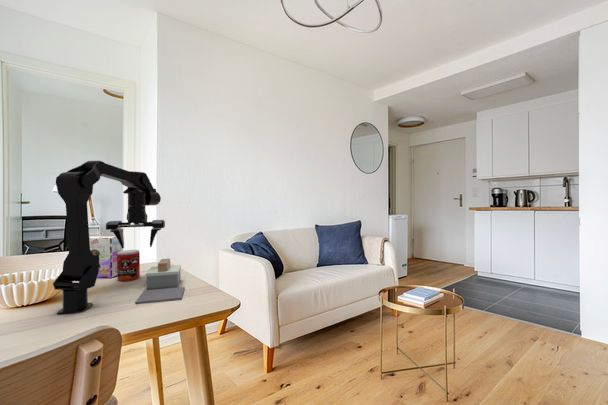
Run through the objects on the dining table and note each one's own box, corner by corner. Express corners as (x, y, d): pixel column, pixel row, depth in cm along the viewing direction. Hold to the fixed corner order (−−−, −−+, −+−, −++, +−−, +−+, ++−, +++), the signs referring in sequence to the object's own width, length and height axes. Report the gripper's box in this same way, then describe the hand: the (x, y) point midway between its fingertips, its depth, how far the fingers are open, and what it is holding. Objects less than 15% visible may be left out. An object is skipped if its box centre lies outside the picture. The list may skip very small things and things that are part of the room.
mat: (181, 299, 93) (181, 297, 93) (135, 304, 90) (135, 302, 90) (184, 288, 105) (184, 286, 105) (143, 292, 101) (143, 290, 101)
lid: (178, 276, 105) (177, 263, 105) (145, 279, 102) (145, 265, 102) (181, 270, 115) (180, 257, 115) (151, 272, 112) (151, 259, 112)
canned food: (114, 282, 113) (113, 253, 113) (121, 277, 121) (120, 250, 120) (136, 280, 115) (136, 252, 115) (142, 275, 123) (141, 249, 122)
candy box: (121, 274, 124) (121, 235, 124) (111, 278, 118) (110, 237, 118) (91, 274, 125) (90, 235, 125) (79, 277, 120) (79, 237, 119)
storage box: (177, 288, 106) (177, 274, 105) (146, 290, 103) (146, 276, 102) (180, 280, 115) (180, 267, 115) (152, 282, 112) (151, 269, 112)
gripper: (166, 205, 121) (166, 243, 121) (113, 205, 115) (114, 245, 115) (163, 205, 110) (163, 247, 111) (105, 206, 104) (105, 250, 104)
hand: (137, 247), depth 110 cm, fingers open, 9 cm apart
